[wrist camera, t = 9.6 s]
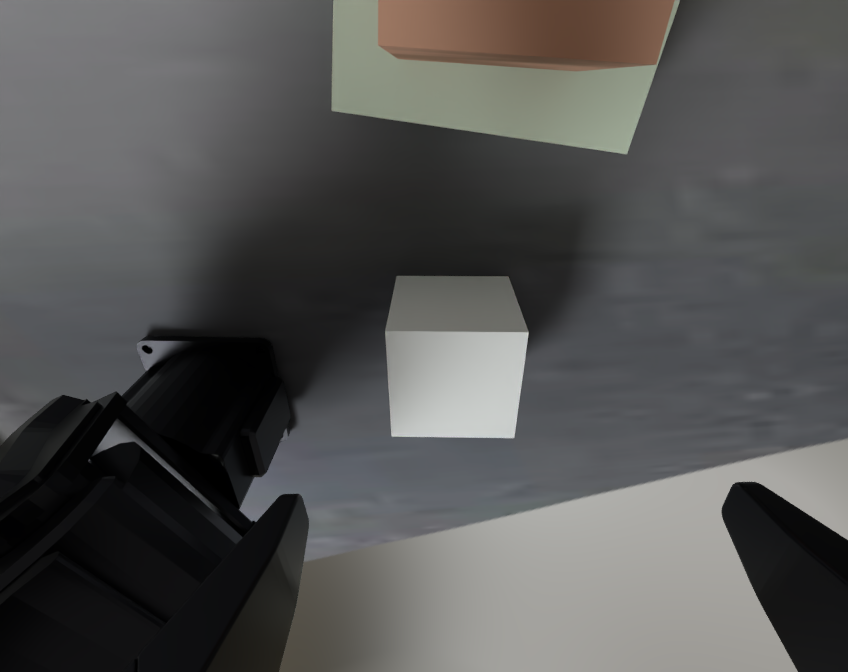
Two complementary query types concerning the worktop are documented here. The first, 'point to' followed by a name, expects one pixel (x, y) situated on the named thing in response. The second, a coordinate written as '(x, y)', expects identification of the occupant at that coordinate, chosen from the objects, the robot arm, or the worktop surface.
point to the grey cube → (455, 356)
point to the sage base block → (484, 90)
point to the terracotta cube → (526, 32)
